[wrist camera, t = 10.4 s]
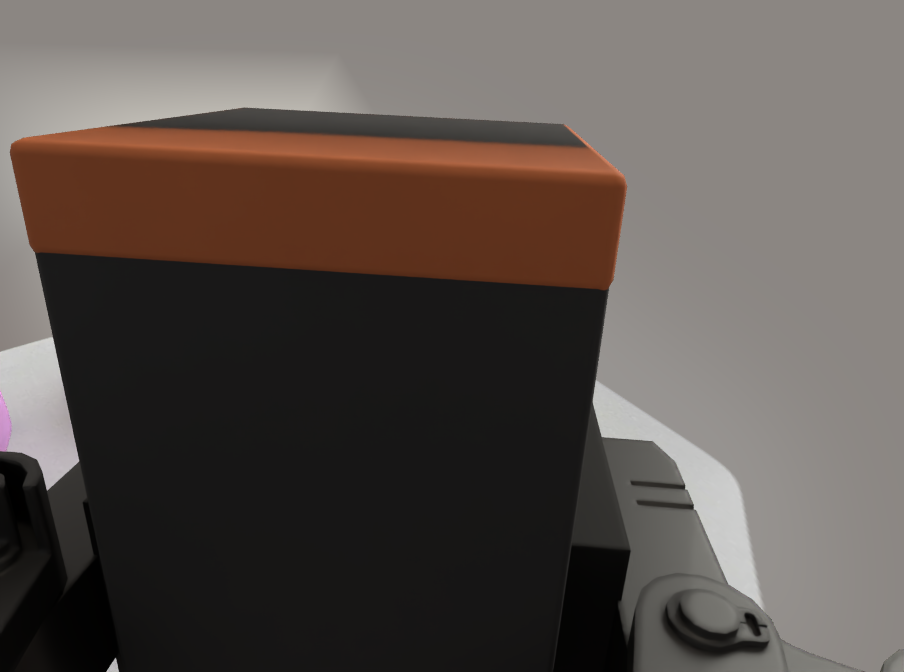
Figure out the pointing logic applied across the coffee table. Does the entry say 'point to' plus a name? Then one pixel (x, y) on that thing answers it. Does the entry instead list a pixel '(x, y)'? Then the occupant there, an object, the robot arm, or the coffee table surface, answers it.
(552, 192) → the standing box
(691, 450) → the coffee table surface
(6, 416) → the teapot
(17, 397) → the coffee table surface
